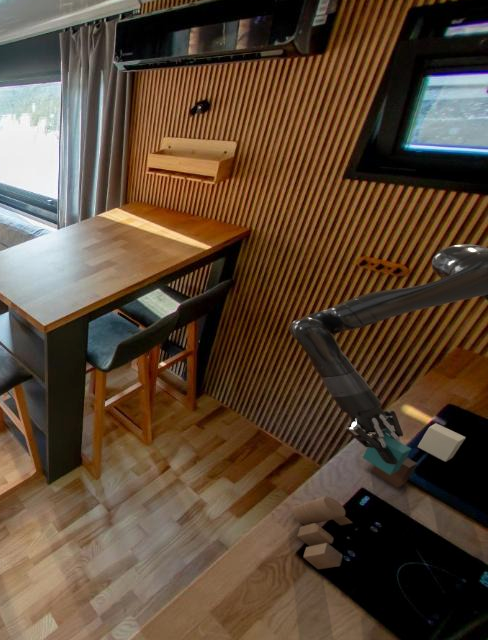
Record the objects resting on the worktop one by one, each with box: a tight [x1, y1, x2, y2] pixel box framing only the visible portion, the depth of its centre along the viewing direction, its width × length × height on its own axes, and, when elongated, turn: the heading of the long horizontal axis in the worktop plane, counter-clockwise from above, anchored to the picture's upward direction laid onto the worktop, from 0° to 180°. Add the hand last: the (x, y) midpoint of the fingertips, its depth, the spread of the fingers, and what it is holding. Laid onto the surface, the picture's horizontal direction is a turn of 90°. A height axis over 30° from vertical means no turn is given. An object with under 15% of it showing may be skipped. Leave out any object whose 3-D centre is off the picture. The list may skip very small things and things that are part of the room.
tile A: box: [417, 422, 466, 463], centre depth 97 cm, size 3×5×8 cm, turn 19°
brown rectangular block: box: [370, 457, 418, 489], centre depth 93 cm, size 3×5×8 cm, turn 17°
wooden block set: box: [291, 496, 353, 570], centre depth 84 cm, size 18×9×10 cm, turn 130°
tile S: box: [361, 433, 412, 475], centre depth 88 cm, size 3×5×8 cm, turn 17°
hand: (397, 460), depth 86 cm, fingers closed on tile S, 3 cm apart
